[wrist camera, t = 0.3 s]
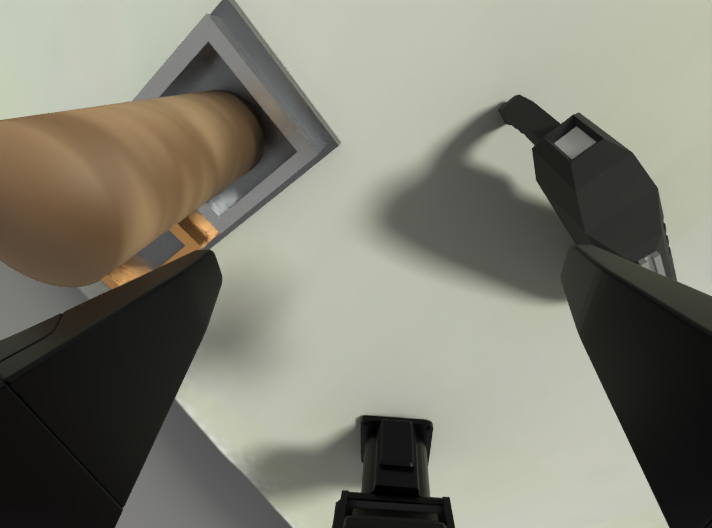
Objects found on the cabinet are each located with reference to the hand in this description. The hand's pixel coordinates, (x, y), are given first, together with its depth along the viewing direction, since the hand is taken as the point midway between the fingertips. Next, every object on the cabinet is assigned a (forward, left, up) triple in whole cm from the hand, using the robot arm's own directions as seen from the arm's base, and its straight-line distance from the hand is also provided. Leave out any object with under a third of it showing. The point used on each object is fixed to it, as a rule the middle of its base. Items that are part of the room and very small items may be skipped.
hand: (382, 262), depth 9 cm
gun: (-3, -11, -15) cm, 19 cm away
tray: (-2, +14, -14) cm, 20 cm away
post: (+1, +10, -13) cm, 16 cm away
